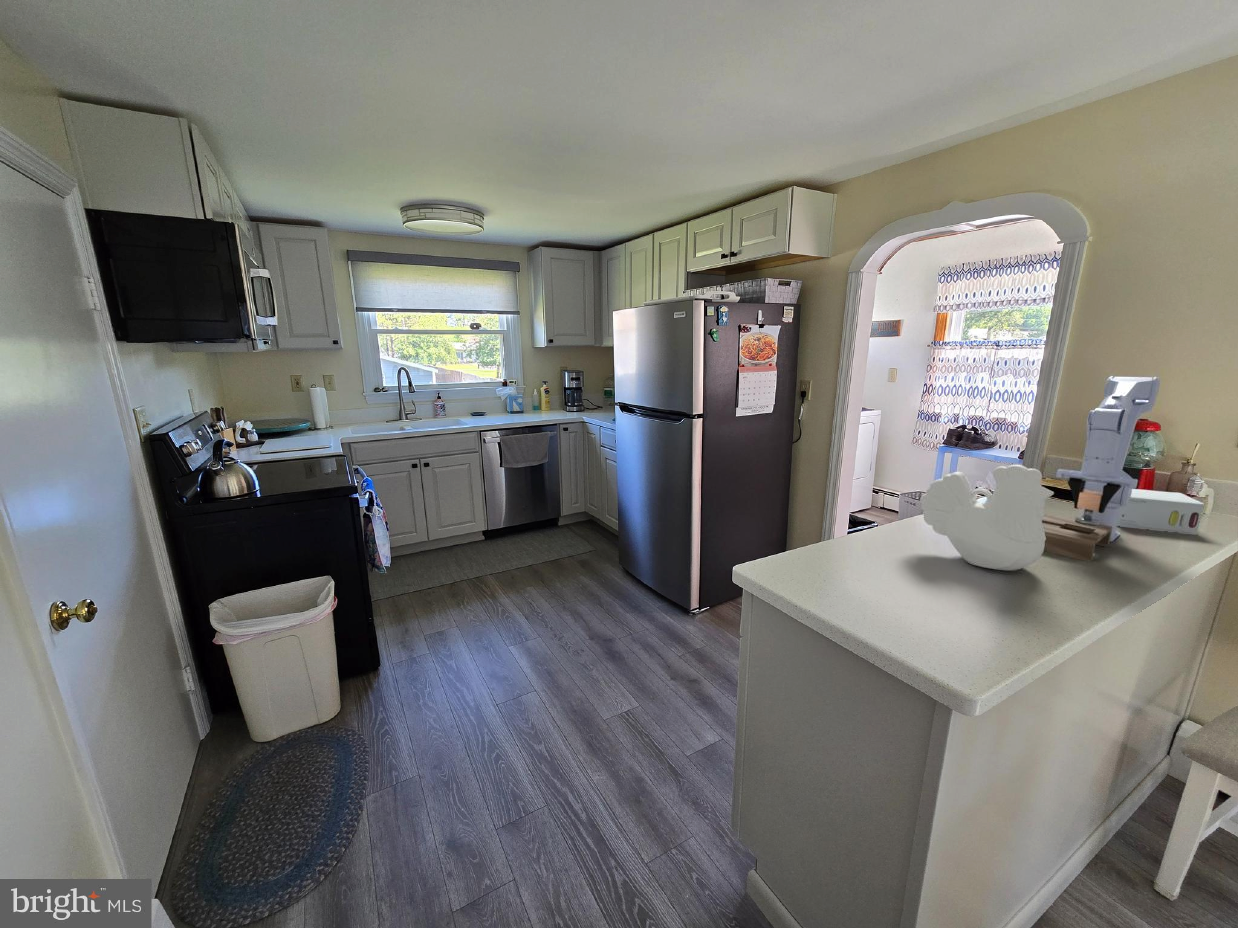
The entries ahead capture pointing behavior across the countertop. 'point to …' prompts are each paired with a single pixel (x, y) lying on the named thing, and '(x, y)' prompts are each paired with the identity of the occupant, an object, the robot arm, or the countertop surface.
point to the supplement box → (1161, 512)
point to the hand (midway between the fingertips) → (1089, 509)
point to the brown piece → (1089, 507)
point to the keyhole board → (1073, 537)
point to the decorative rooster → (991, 517)
